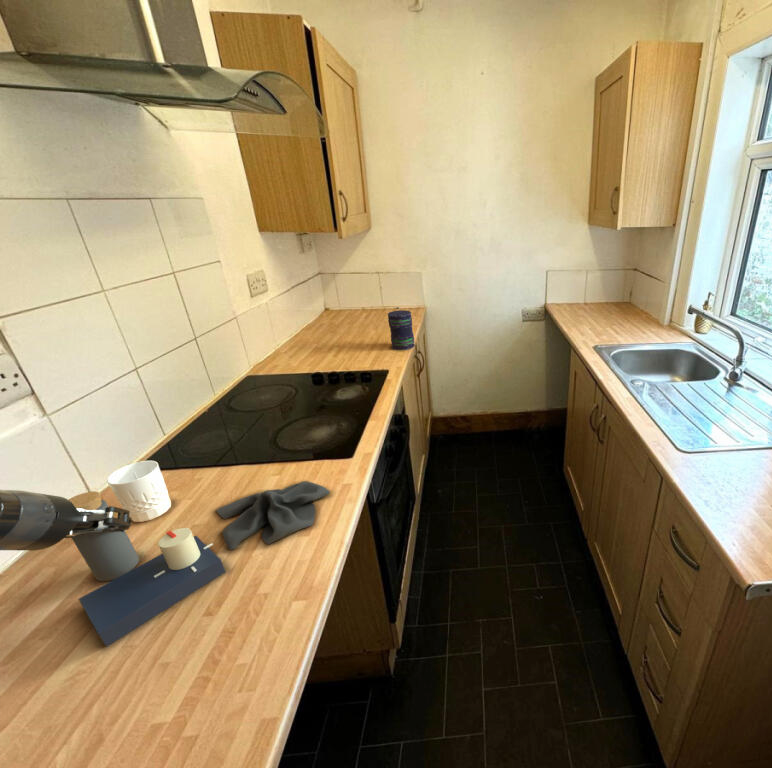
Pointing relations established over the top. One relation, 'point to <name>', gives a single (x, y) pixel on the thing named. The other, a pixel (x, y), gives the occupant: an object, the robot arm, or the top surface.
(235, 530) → the cloth
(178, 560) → the knob
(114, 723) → the top surface
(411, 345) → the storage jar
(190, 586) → the panel
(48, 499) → the robot arm
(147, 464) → the white cup
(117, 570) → the bottle
